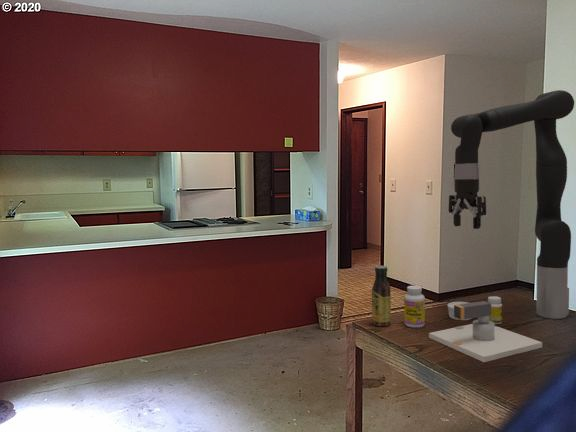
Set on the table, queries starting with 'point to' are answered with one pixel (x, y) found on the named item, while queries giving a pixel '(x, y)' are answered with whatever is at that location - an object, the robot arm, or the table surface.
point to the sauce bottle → (381, 298)
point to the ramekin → (451, 309)
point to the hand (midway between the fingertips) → (466, 227)
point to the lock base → (485, 341)
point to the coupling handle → (473, 311)
